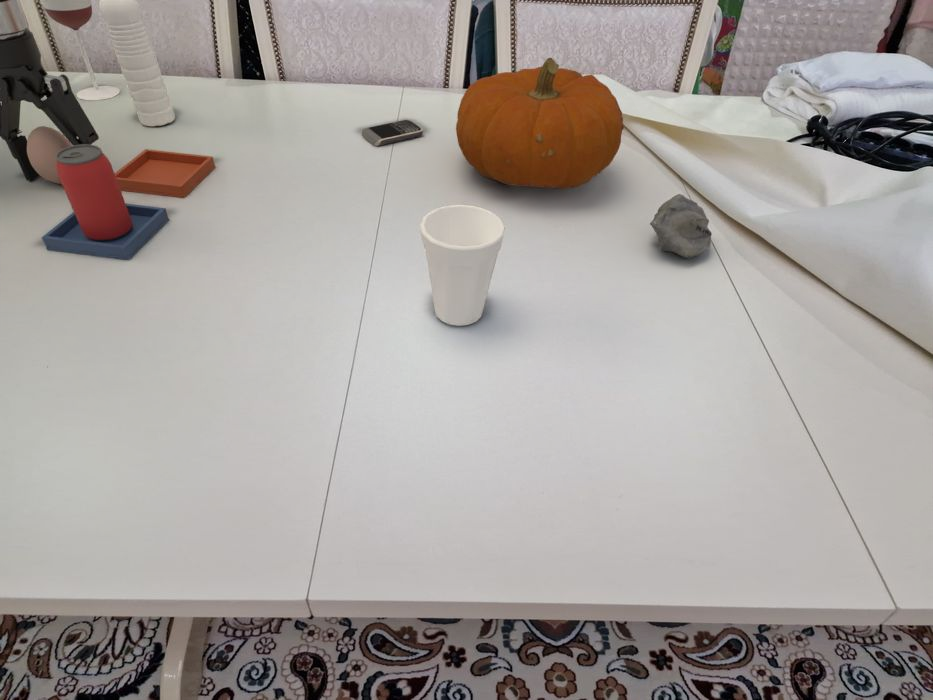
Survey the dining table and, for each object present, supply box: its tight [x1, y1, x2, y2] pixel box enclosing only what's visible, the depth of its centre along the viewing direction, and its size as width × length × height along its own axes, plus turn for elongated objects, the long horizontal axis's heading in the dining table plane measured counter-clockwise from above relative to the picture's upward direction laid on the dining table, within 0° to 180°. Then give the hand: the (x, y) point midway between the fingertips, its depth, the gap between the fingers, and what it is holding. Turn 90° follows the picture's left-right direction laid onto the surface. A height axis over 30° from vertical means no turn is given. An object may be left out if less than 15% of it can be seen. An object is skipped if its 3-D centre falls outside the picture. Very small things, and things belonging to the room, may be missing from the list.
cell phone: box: [361, 119, 424, 147], centre depth 120 cm, size 6×11×1 cm, turn 124°
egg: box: [27, 125, 73, 185], centre depth 98 cm, size 7×7×9 cm
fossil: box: [649, 193, 713, 259], centre depth 92 cm, size 11×9×8 cm
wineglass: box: [39, 0, 121, 101], centre depth 122 cm, size 9×10×22 cm
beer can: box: [55, 144, 133, 241], centre depth 86 cm, size 7×7×12 cm
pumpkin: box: [455, 57, 625, 189], centre depth 104 cm, size 28×28×20 cm
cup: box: [419, 204, 506, 327], centre depth 76 cm, size 10×10×13 cm
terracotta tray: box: [114, 148, 216, 199], centre depth 103 cm, size 12×11×2 cm
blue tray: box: [41, 202, 170, 261], centre depth 89 cm, size 12×11×2 cm
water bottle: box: [98, 0, 176, 127], centre depth 112 cm, size 9×6×25 cm
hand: (63, 180), depth 101 cm, fingers open, 9 cm apart
